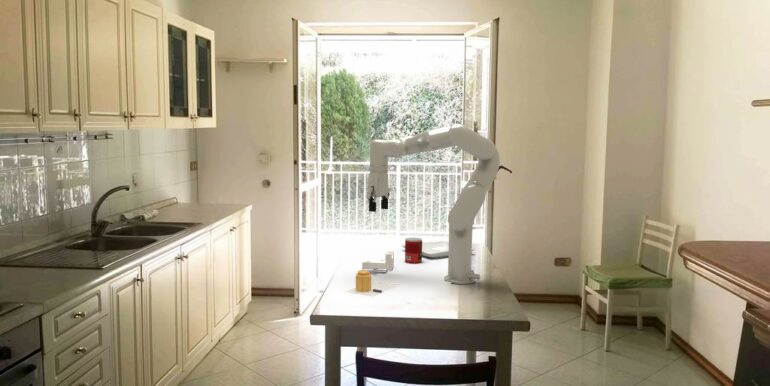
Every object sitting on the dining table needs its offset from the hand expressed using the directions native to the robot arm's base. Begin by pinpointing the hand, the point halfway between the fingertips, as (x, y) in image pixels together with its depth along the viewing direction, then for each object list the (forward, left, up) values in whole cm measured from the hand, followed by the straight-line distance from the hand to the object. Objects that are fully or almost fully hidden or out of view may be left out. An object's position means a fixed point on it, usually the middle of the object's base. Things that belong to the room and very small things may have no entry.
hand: (378, 210), depth 257 cm
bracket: (+8, -14, -29) cm, 33 cm away
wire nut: (-9, +26, -27) cm, 38 cm away
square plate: (+1, -60, -29) cm, 67 cm away
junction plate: (-11, +22, -28) cm, 37 cm away
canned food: (+1, -34, -28) cm, 44 cm away
